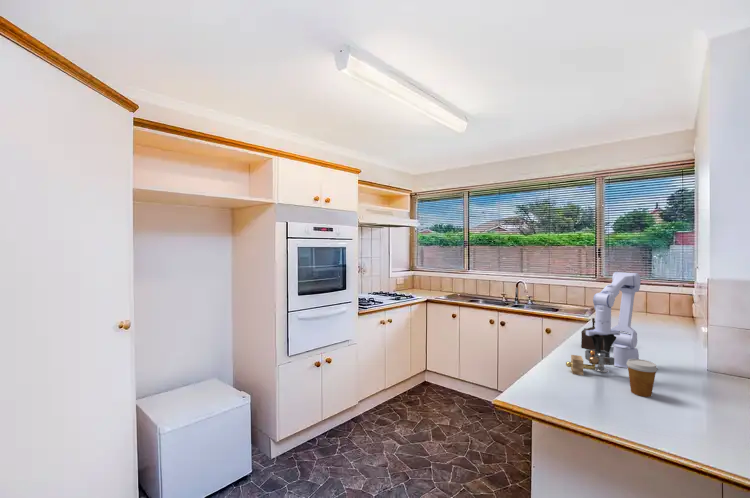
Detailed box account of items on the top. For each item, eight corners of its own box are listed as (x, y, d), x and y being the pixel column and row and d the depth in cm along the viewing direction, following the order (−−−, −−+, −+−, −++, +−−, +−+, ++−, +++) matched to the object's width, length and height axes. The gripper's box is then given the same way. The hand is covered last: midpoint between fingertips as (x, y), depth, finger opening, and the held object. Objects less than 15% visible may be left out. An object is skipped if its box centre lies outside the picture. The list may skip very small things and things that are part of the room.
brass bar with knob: (597, 369, 153) (598, 357, 153) (599, 372, 150) (599, 359, 150) (565, 365, 158) (565, 353, 158) (566, 367, 155) (566, 355, 155)
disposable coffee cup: (652, 391, 136) (653, 360, 135) (660, 401, 127) (661, 368, 127) (623, 386, 140) (623, 357, 139) (628, 396, 131) (629, 364, 131)
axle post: (607, 368, 159) (607, 359, 159) (610, 373, 154) (610, 363, 154) (592, 366, 162) (592, 357, 161) (594, 371, 156) (594, 361, 156)
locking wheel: (609, 357, 162) (609, 347, 161) (615, 366, 150) (615, 355, 150) (583, 354, 166) (583, 344, 166) (587, 362, 154) (587, 351, 154)
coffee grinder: (604, 352, 184) (605, 318, 183) (580, 348, 191) (581, 315, 190) (608, 345, 196) (608, 314, 195) (585, 342, 203) (586, 311, 202)
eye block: (581, 370, 157) (581, 355, 157) (583, 375, 151) (583, 360, 151) (570, 368, 159) (571, 354, 159) (572, 374, 153) (572, 359, 152)
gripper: (611, 318, 156) (611, 348, 156) (581, 318, 154) (580, 349, 155) (624, 322, 149) (623, 353, 149) (592, 322, 147) (591, 354, 148)
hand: (602, 351), depth 151 cm, fingers open, 4 cm apart
